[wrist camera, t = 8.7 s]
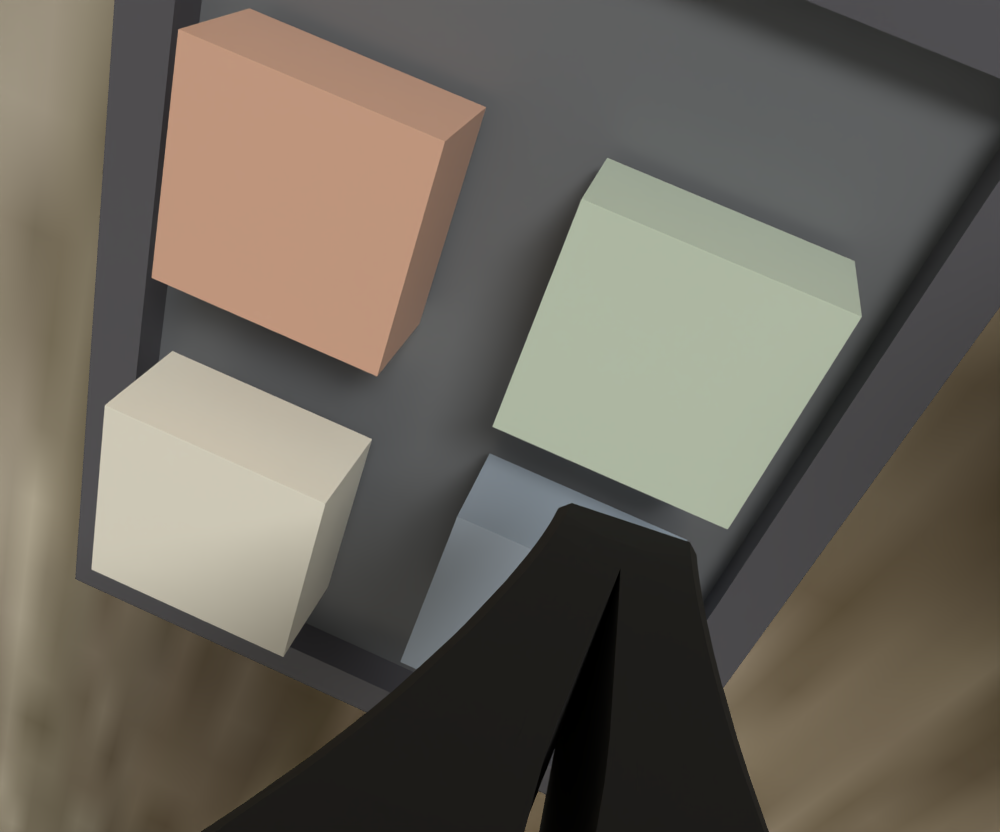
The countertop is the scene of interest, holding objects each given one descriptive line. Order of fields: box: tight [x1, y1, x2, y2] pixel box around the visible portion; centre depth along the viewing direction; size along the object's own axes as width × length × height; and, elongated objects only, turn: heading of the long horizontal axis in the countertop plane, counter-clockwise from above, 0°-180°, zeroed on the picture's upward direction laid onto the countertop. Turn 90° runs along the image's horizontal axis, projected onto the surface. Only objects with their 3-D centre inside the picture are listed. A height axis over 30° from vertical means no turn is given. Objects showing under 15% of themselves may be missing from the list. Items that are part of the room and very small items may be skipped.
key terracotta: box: [152, 8, 486, 376], centre depth 15 cm, size 4×4×2 cm
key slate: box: [400, 454, 687, 669], centre depth 18 cm, size 4×4×2 cm
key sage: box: [492, 158, 862, 529], centre depth 14 cm, size 4×4×2 cm
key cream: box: [91, 351, 372, 657], centre depth 17 cm, size 4×4×2 cm
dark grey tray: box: [75, 0, 1000, 794], centre depth 17 cm, size 14×18×2 cm
